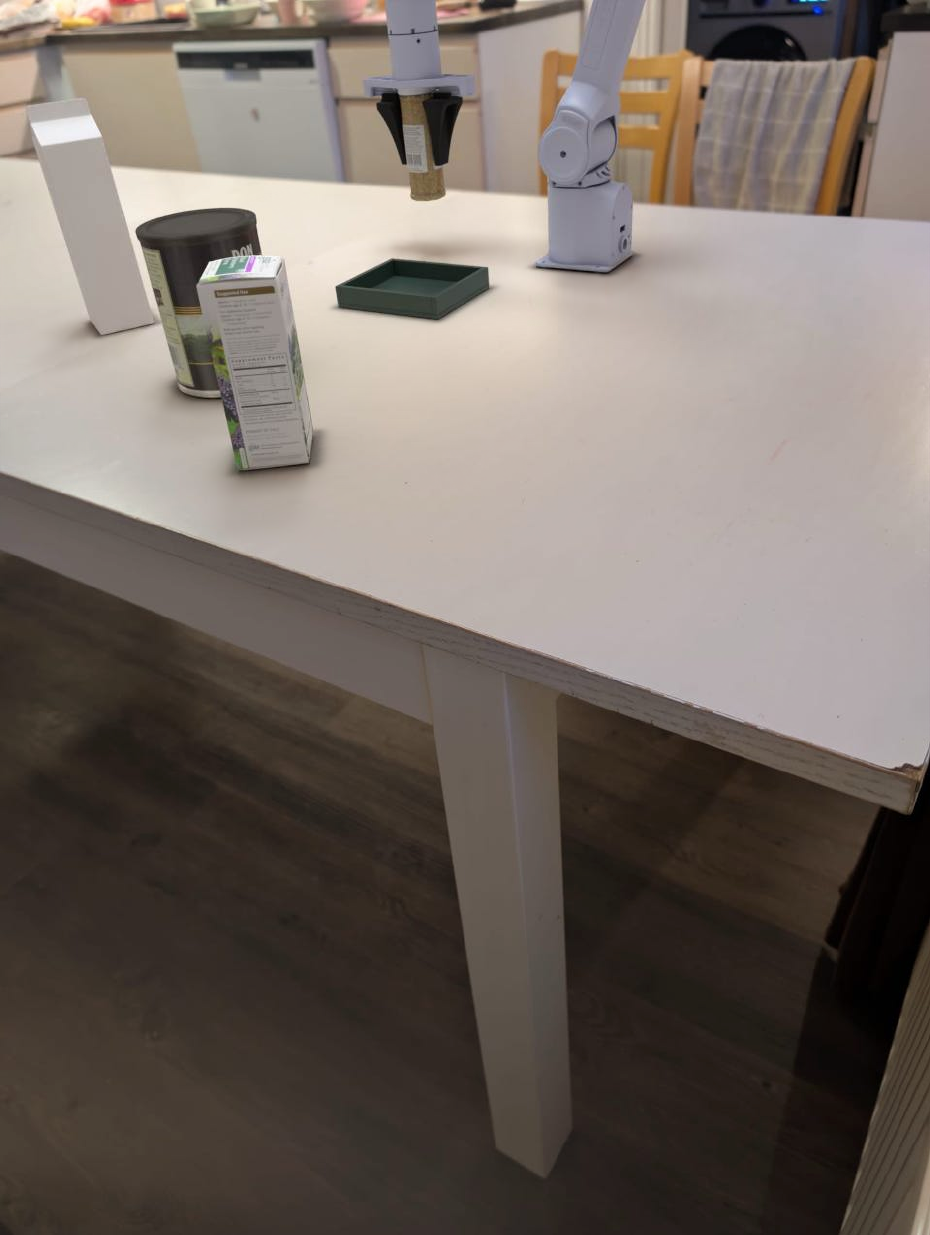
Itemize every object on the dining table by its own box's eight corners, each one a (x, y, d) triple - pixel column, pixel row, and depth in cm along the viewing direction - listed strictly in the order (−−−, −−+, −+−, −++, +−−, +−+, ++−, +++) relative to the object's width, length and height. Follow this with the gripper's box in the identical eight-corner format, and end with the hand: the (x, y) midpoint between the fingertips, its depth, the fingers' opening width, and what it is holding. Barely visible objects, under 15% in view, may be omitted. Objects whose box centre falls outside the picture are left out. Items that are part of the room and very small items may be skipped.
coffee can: (307, 365, 88) (279, 210, 79) (233, 406, 81) (194, 241, 73) (230, 351, 92) (196, 203, 84) (154, 388, 86) (109, 231, 77)
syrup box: (245, 440, 75) (202, 259, 66) (316, 433, 75) (283, 251, 66) (237, 472, 70) (190, 281, 62) (313, 464, 70) (277, 273, 62)
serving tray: (489, 287, 103) (488, 267, 102) (437, 319, 96) (435, 297, 94) (394, 277, 109) (391, 258, 108) (338, 307, 102) (335, 286, 100)
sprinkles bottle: (453, 196, 113) (442, 71, 105) (421, 204, 111) (408, 77, 103) (434, 192, 116) (422, 70, 108) (403, 199, 114) (389, 75, 106)
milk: (155, 324, 102) (93, 100, 88) (100, 336, 100) (28, 108, 86) (142, 310, 106) (81, 94, 93) (89, 321, 104) (20, 103, 91)
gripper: (485, 26, 102) (492, 158, 110) (381, 30, 109) (395, 155, 117) (453, 33, 98) (462, 170, 106) (346, 37, 104) (363, 167, 112)
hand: (425, 163), depth 111 cm, fingers closed on sprinkles bottle, 4 cm apart
